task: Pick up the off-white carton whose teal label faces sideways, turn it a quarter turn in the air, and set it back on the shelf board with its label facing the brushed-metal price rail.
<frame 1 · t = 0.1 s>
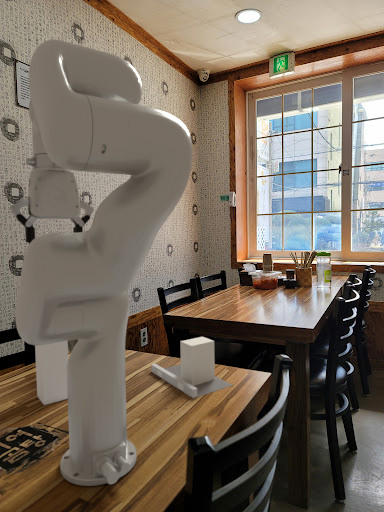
hand: (55, 245, 80), 37 cm above the table, tool pointing down, fingers open, 9 cm apart
shelf board: (190, 383, 95), on the table
carton: (197, 379, 94), point 1 cm above the table, touching shelf board
milk: (53, 398, 89), on the table
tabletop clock: (94, 367, 109), on the table
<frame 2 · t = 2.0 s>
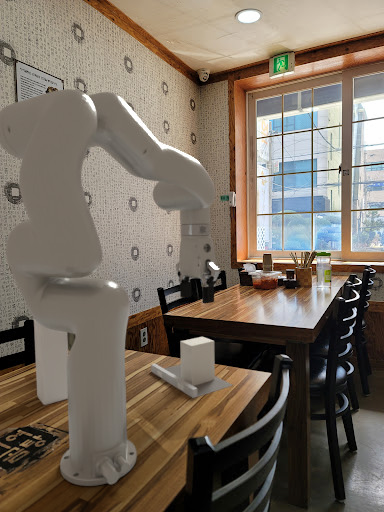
hand: (196, 299, 93), 22 cm above the table, tool pointing down, fingers open, 9 cm apart
nothing on the table moved.
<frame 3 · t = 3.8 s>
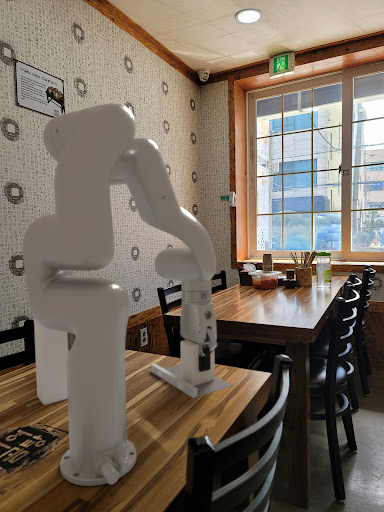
hand: (197, 366, 94), 5 cm above the table, tool pointing down, fingers closed on carton, 5 cm apart
carton: (197, 379, 94), point 2 cm above the table, touching gripper, shelf board
everything else where it was.
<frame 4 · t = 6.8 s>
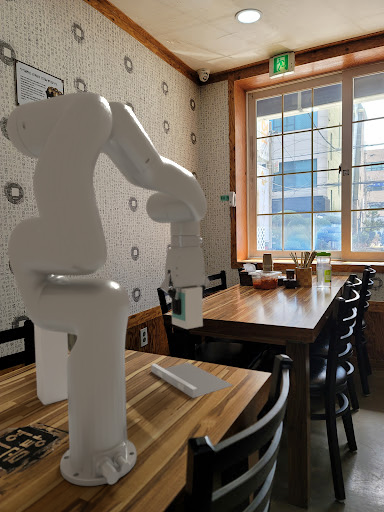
hand: (186, 311, 96), 18 cm above the table, tool pointing down, fingers closed on carton, 5 cm apart
carton: (187, 324, 96), point 15 cm above the table, touching gripper
everything else where it was.
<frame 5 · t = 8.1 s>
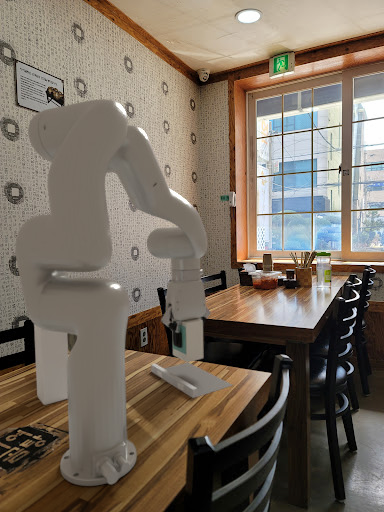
hand: (187, 343, 97), 10 cm above the table, tool pointing down, fingers closed on carton, 5 cm apart
carton: (187, 356, 97), point 6 cm above the table, touching gripper
everything else where it was.
when the fingers open (6 cm above the table, at t = 9.3 s): carton drops 1 cm, resting on shelf board.
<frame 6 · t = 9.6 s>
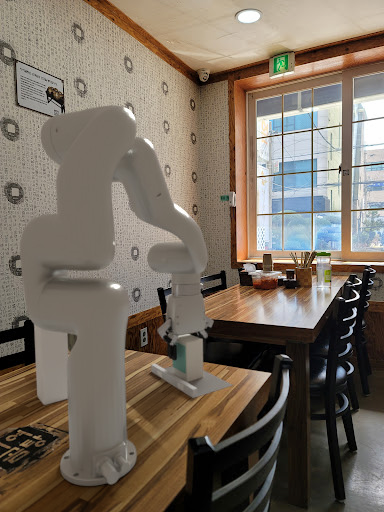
hand: (187, 355, 97), 7 cm above the table, tool pointing down, fingers open, 8 cm apart
carton: (187, 375, 97), point 1 cm above the table, touching shelf board
everything else where it was.
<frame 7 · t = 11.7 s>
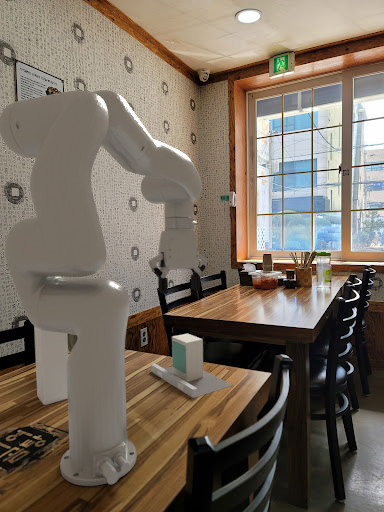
hand: (179, 291, 96), 24 cm above the table, tool pointing down, fingers open, 9 cm apart
nothing on the table moved.
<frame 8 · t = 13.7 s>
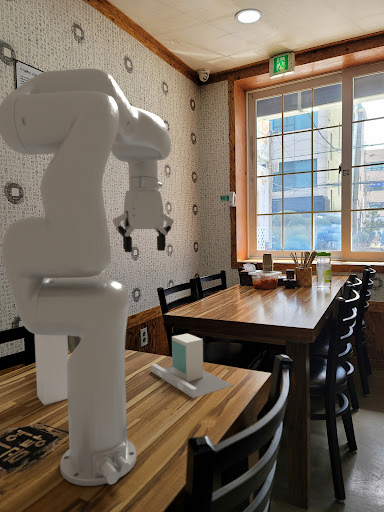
hand: (145, 251, 98), 34 cm above the table, tool pointing down, fingers open, 9 cm apart
nothing on the table moved.
at the end: carton 0.0 cm from the target spot, point 1.5 cm above the table; carton tilted 0°; the gripper is holding nothing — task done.
